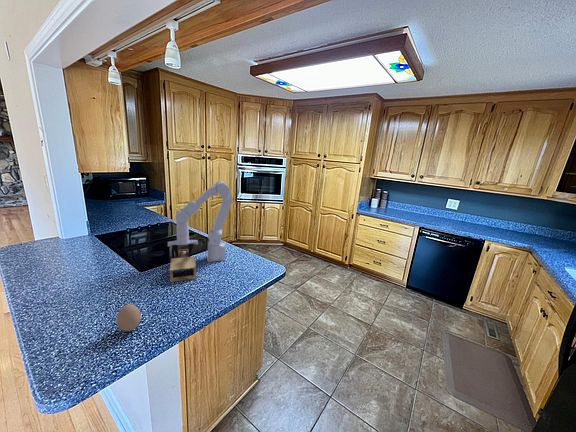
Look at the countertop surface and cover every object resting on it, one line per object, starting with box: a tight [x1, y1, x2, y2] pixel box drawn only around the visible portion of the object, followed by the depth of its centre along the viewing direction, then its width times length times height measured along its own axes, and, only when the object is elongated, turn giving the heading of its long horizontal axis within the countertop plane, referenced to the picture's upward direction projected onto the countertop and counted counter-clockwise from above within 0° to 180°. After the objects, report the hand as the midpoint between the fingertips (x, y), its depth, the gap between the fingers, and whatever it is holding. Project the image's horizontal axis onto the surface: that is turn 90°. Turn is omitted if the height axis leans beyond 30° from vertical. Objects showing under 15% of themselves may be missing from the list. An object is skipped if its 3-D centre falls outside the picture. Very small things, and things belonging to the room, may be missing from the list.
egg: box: [116, 303, 142, 332], centre depth 76 cm, size 7×7×9 cm
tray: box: [178, 248, 189, 258], centre depth 125 cm, size 5×13×4 cm, turn 23°
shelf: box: [169, 256, 197, 283], centre depth 113 cm, size 11×12×6 cm
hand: (183, 257), depth 125 cm, fingers closed on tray, 5 cm apart
